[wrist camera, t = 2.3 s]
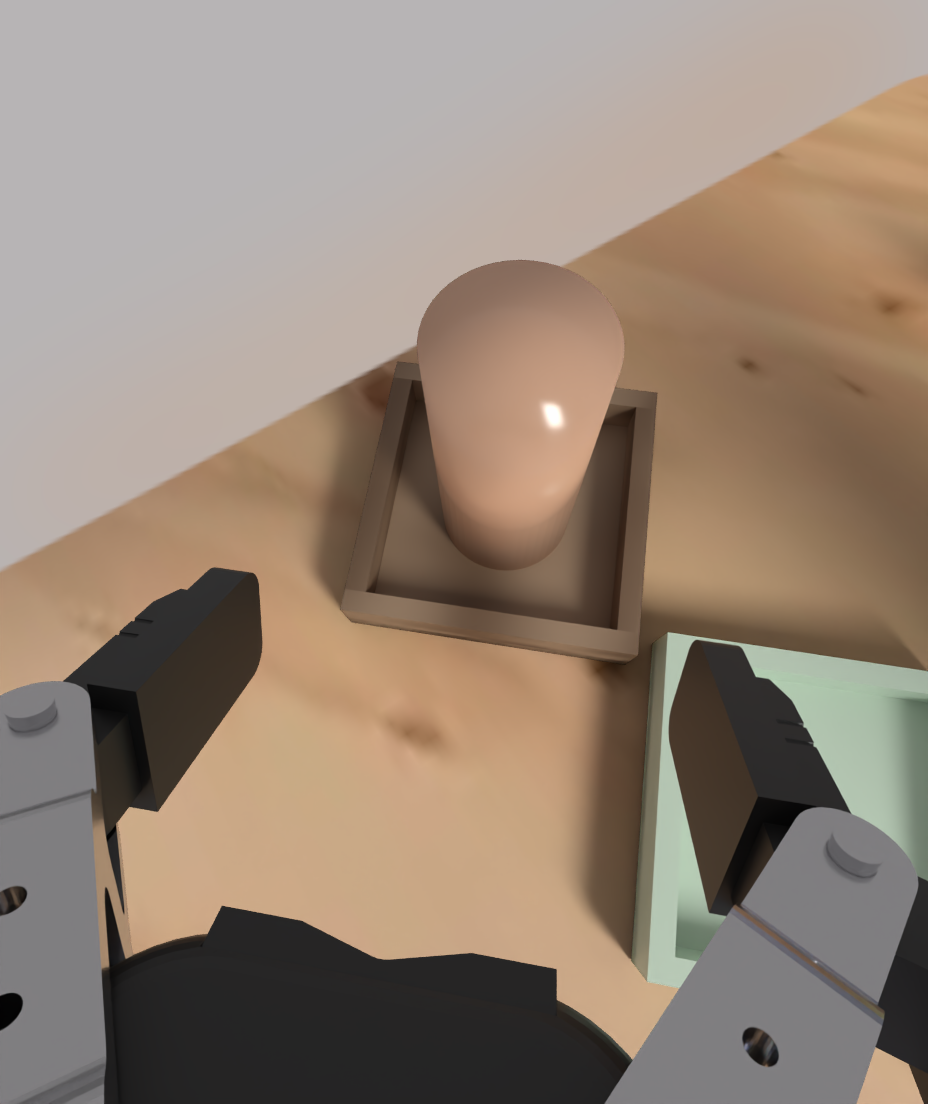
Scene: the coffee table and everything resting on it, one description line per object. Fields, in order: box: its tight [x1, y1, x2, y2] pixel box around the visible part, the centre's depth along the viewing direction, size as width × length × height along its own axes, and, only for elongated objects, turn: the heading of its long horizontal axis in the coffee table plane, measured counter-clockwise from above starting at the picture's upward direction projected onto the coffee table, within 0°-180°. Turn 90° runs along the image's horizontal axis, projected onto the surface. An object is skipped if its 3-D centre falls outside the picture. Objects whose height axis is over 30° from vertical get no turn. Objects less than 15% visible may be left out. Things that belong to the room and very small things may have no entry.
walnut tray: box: [340, 362, 657, 665], centre depth 26 cm, size 11×11×2 cm
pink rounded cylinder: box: [417, 260, 625, 571], centre depth 21 cm, size 5×5×11 cm
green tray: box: [631, 632, 928, 988], centre depth 22 cm, size 11×11×2 cm
